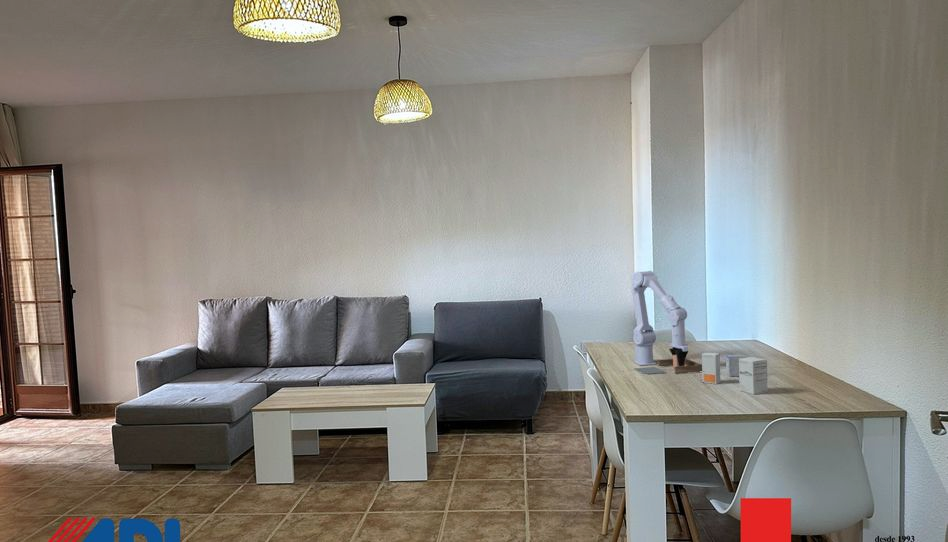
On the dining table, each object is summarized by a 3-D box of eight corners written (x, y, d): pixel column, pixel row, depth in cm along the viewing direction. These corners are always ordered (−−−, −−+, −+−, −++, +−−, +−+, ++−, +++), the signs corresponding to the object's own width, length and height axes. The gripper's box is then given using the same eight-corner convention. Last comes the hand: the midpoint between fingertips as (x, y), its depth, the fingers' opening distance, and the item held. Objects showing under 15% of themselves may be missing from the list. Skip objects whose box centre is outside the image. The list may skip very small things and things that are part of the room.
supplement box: (738, 391, 267) (738, 358, 267) (753, 388, 270) (752, 356, 270) (753, 394, 260) (752, 361, 260) (768, 392, 263) (767, 359, 263)
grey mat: (633, 369, 319) (633, 368, 319) (654, 368, 320) (654, 366, 320) (644, 374, 306) (644, 373, 306) (666, 373, 307) (666, 372, 307)
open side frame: (658, 366, 323) (658, 360, 323) (685, 364, 325) (684, 358, 325) (675, 373, 305) (675, 367, 305) (703, 371, 306) (703, 365, 306)
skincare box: (702, 382, 285) (701, 353, 284) (706, 381, 288) (705, 352, 287) (716, 384, 281) (715, 354, 280) (721, 382, 284) (720, 353, 283)
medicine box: (745, 374, 297) (744, 354, 297) (748, 376, 293) (748, 356, 292) (726, 375, 298) (725, 355, 297) (729, 377, 293) (728, 356, 293)
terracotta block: (673, 368, 317) (672, 354, 316) (681, 367, 317) (681, 354, 317) (676, 369, 313) (676, 356, 312) (685, 369, 313) (685, 355, 313)
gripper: (693, 336, 308) (694, 367, 308) (679, 332, 322) (680, 361, 323) (678, 337, 307) (679, 368, 307) (665, 333, 321) (666, 362, 322)
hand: (679, 364), depth 315 cm, fingers closed on terracotta block, 4 cm apart
